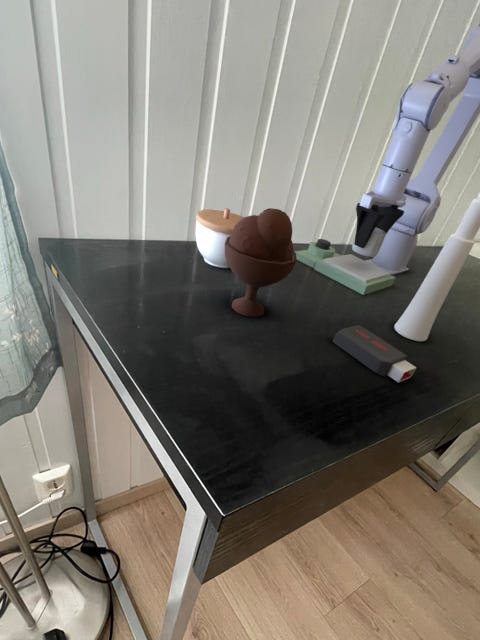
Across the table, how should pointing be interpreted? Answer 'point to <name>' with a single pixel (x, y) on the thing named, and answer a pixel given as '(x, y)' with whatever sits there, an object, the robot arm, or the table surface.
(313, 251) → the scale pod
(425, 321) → the cosmetic bottle
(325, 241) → the button
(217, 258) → the trinket box
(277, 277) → the ice cream bowl
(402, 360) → the usb drive
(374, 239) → the grey cup
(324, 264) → the scale
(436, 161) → the robot arm
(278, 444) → the table surface
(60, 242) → the table surface
